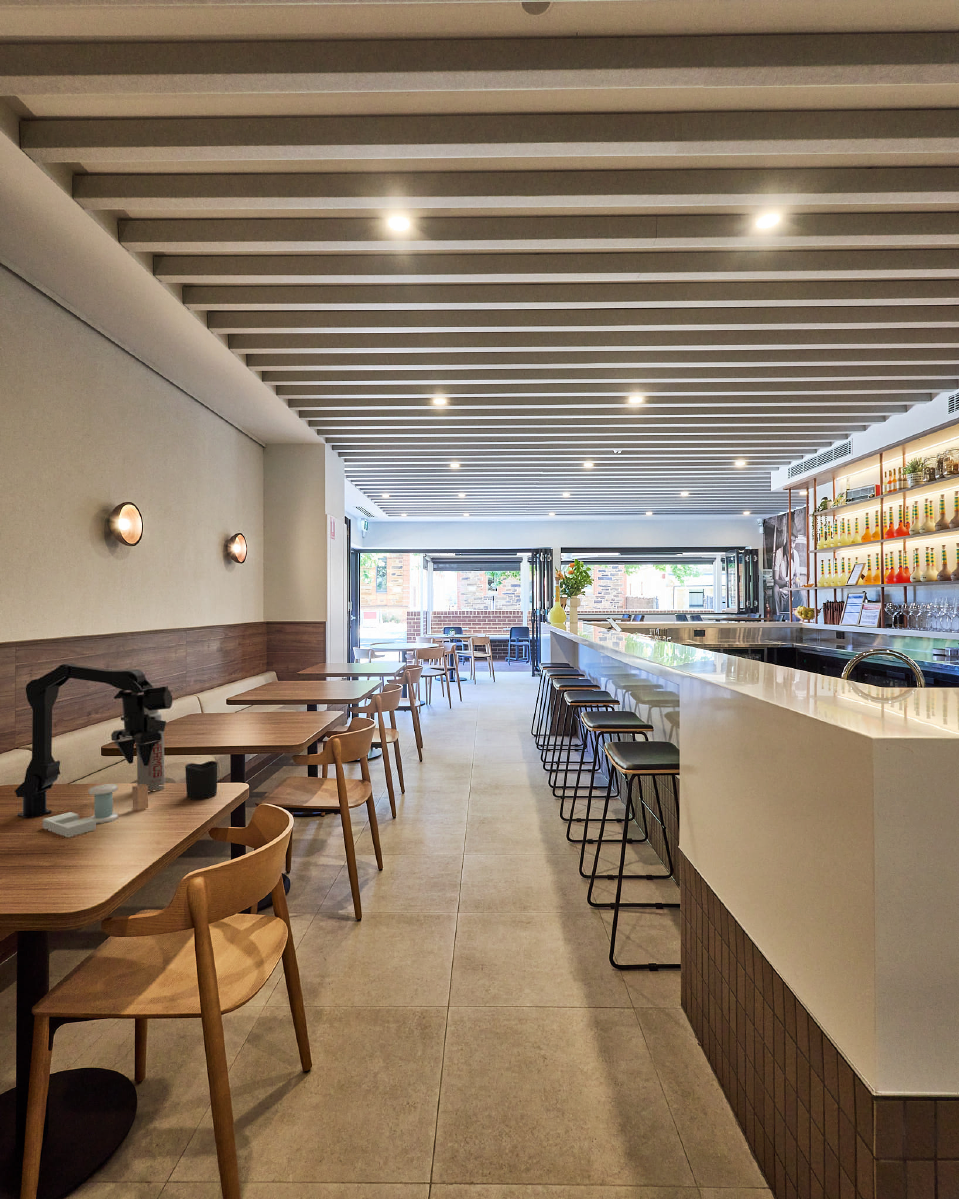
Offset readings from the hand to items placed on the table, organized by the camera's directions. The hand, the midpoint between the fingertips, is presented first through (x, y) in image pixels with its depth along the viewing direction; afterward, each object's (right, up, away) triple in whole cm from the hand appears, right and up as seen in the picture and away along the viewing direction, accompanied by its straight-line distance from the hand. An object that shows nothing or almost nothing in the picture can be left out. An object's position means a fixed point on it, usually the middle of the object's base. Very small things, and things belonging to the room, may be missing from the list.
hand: (138, 764), depth 188 cm
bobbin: (-5, -13, -8) cm, 17 cm away
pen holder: (+13, -14, +13) cm, 23 cm away
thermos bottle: (-8, -14, +22) cm, 27 cm away
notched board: (-10, -13, -16) cm, 23 cm away
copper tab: (0, -14, +1) cm, 13 cm away
